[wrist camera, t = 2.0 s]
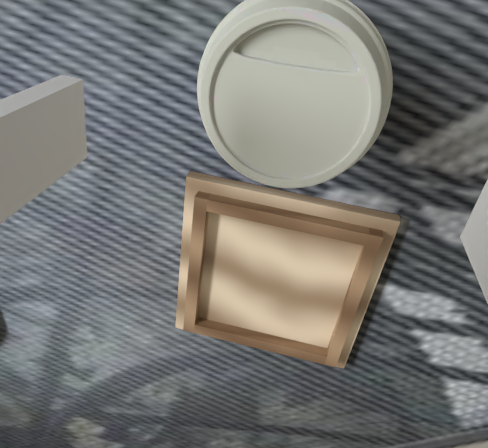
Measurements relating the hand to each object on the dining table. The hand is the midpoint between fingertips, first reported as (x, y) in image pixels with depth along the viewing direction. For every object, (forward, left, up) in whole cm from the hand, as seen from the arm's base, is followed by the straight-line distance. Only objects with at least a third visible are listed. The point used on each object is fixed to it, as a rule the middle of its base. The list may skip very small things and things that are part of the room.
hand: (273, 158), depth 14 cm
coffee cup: (0, 0, -17) cm, 17 cm away
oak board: (+18, +1, -17) cm, 24 cm away
